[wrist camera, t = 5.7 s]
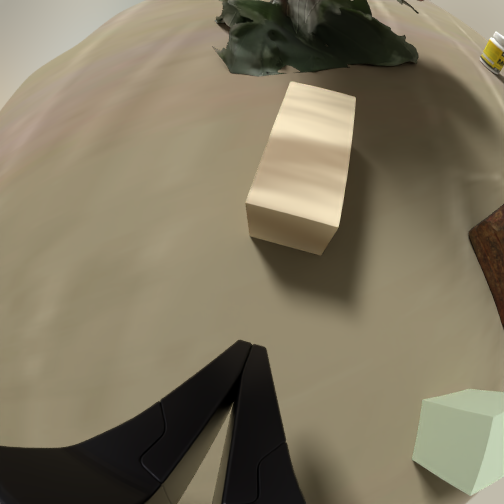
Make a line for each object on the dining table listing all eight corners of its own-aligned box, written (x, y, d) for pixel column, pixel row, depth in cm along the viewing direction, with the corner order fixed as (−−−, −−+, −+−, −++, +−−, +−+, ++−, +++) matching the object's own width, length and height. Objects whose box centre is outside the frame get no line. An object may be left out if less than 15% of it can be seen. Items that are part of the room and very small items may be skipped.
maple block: (338, 227, 12) (356, 97, 15) (245, 202, 13) (290, 81, 16) (320, 256, 17) (342, 138, 20) (249, 237, 17) (287, 124, 20)
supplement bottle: (493, 74, 25) (510, 45, 17) (475, 58, 27) (490, 28, 19) (501, 75, 26) (516, 48, 18) (484, 59, 27) (498, 31, 19)
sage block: (459, 444, 12) (520, 465, 5) (411, 459, 12) (470, 495, 5) (469, 388, 13) (538, 393, 6) (422, 399, 13) (493, 416, 7)
